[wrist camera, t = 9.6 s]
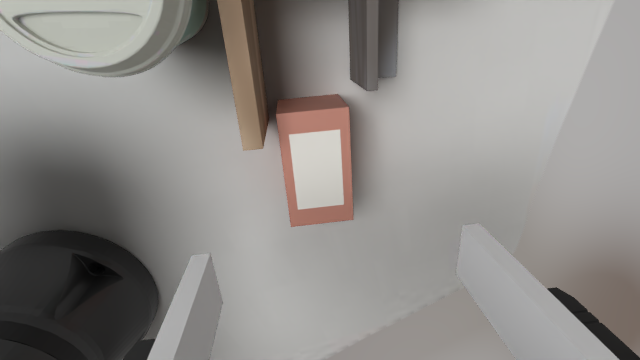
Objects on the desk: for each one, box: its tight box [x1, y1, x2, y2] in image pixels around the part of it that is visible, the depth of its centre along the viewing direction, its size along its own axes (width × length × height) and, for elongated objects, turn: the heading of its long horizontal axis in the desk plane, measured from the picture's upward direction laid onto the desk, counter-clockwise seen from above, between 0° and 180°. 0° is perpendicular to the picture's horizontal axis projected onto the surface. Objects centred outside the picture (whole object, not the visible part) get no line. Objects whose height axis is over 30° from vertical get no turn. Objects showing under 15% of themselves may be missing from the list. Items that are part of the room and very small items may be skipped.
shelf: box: [217, 0, 398, 151], centre depth 21 cm, size 14×11×8 cm
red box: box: [276, 94, 353, 227], centre depth 26 cm, size 5×9×6 cm, turn 4°
